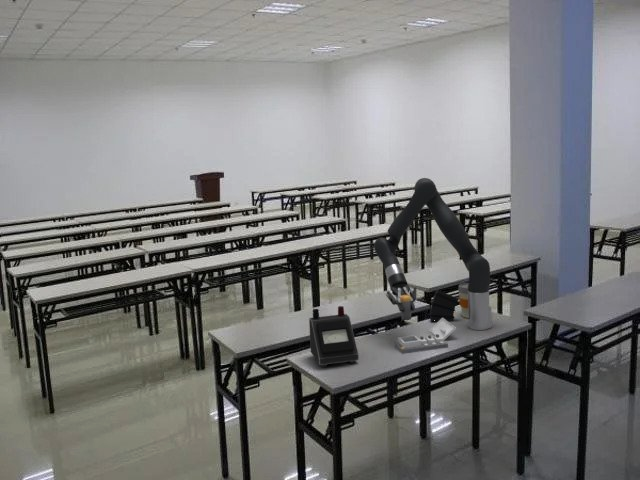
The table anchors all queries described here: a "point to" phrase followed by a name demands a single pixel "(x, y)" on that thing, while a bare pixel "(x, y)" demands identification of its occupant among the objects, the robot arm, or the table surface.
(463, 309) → the reusable coffee cup
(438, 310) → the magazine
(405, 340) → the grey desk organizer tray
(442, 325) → the light switch
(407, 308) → the lockout plug
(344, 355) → the voltmeter
